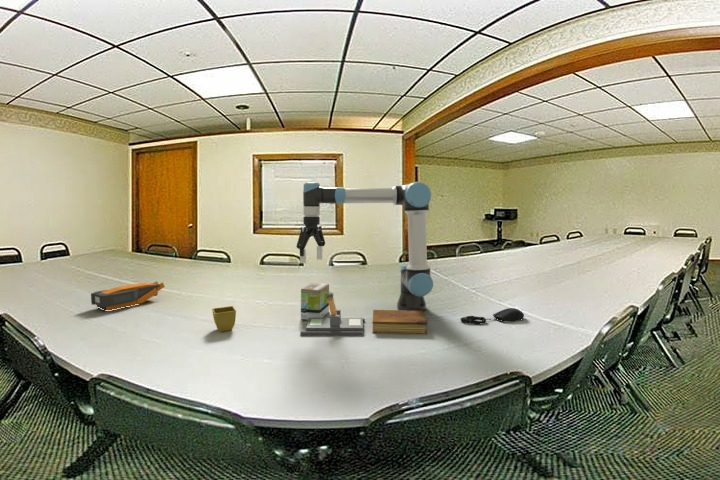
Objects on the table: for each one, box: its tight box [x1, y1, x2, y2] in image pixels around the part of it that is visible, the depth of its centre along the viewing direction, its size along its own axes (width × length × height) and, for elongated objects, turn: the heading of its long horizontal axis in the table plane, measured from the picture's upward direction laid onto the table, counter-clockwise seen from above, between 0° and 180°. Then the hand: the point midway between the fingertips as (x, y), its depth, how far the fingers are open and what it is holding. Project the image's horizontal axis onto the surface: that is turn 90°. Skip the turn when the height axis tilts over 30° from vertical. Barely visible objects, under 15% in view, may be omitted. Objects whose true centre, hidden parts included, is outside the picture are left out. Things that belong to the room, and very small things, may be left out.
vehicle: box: [90, 280, 166, 310], centre depth 204 cm, size 14×34×10 cm, turn 148°
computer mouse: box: [460, 307, 525, 325], centre depth 177 cm, size 10×32×6 cm, turn 106°
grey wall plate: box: [299, 317, 366, 337], centre depth 165 cm, size 27×19×1 cm
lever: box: [327, 291, 337, 315], centre depth 164 cm, size 3×6×13 cm, turn 0°
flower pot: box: [211, 305, 237, 333], centre depth 163 cm, size 9×9×9 cm
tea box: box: [300, 282, 330, 320], centre depth 183 cm, size 15×10×15 cm
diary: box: [371, 309, 428, 335], centre depth 167 cm, size 23×19×6 cm
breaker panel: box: [305, 308, 364, 332], centre depth 165 cm, size 24×14×7 cm, turn 90°
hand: (311, 261), depth 177 cm, fingers open, 13 cm apart
